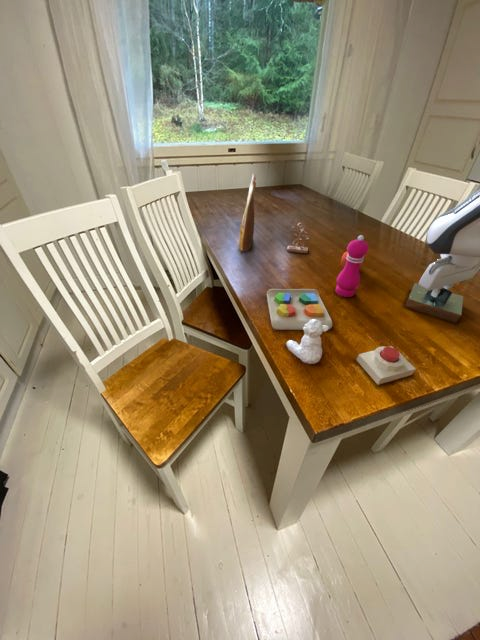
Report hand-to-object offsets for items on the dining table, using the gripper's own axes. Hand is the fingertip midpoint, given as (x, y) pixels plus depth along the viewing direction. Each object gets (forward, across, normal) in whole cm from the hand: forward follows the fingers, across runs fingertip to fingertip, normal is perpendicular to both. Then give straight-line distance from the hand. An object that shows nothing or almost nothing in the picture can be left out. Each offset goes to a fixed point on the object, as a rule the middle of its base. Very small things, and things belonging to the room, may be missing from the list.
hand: (437, 295), depth 85 cm
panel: (+4, 0, 0) cm, 4 cm away
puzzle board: (+4, -42, +14) cm, 45 cm away
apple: (+4, -8, +30) cm, 31 cm away
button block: (+4, -35, -14) cm, 38 cm away
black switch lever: (+1, 0, 0) cm, 1 cm away
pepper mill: (+4, -21, +17) cm, 27 cm away
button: (+1, -35, -14) cm, 38 cm away
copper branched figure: (+4, -18, +52) cm, 55 cm away
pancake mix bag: (+4, -36, +66) cm, 75 cm away
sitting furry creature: (+4, -50, -3) cm, 50 cm away
